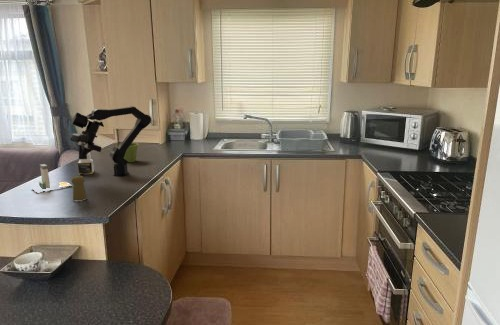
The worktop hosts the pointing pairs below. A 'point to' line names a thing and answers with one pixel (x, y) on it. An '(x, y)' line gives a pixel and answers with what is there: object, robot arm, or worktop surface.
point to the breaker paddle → (45, 175)
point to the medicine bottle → (86, 165)
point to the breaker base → (62, 184)
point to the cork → (78, 188)
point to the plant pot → (131, 153)
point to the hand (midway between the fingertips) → (79, 159)
